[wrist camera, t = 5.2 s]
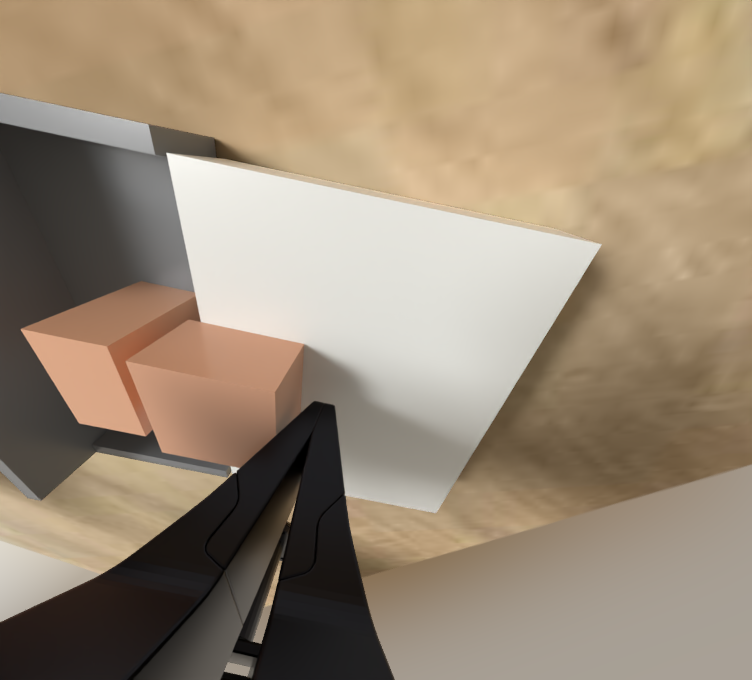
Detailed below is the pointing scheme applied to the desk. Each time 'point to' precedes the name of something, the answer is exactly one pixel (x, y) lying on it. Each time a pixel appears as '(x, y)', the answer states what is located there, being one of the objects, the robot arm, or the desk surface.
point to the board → (378, 308)
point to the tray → (78, 266)
